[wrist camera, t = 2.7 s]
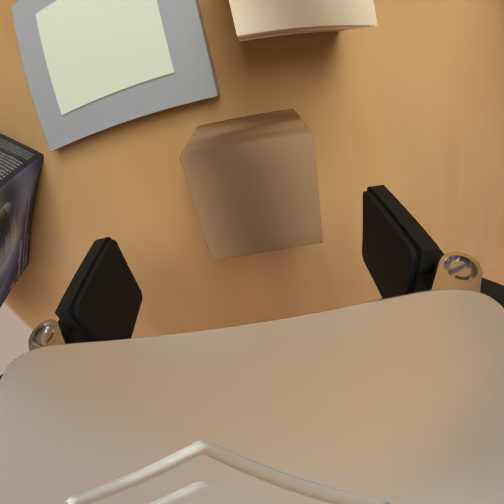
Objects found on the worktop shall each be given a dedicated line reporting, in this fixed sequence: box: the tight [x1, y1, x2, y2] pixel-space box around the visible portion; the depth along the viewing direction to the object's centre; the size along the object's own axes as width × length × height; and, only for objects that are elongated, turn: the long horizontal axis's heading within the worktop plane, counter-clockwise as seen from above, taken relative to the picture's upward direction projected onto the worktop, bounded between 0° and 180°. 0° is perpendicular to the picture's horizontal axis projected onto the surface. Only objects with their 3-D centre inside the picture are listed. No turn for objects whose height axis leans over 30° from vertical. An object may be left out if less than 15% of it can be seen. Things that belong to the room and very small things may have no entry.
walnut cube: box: [179, 109, 322, 260], centre depth 14 cm, size 5×5×5 cm
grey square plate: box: [12, 0, 219, 151], centre depth 11 cm, size 10×10×1 cm
